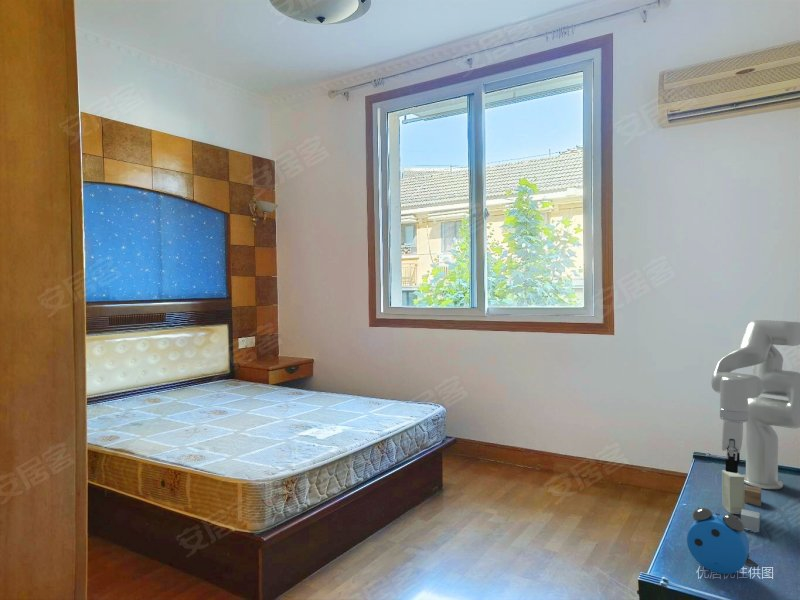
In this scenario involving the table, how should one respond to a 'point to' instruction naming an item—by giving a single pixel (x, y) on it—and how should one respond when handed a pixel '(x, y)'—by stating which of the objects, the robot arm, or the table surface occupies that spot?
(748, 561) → the strap clip
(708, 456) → the table surface
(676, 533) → the table surface
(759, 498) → the walnut block
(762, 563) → the table surface
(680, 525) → the table surface
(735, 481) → the skincare box
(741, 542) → the alarm clock
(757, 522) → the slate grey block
